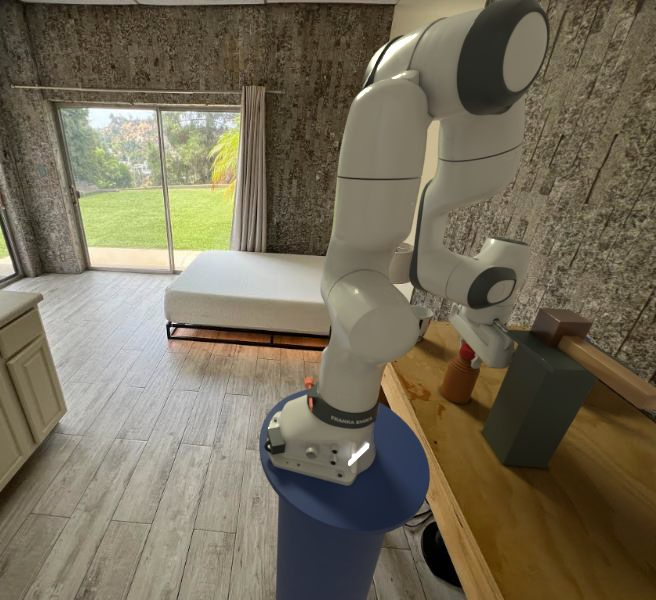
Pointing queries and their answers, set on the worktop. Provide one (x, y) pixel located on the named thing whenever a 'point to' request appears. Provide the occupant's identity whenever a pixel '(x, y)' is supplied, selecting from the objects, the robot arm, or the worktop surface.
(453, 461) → the worktop surface
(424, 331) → the cup
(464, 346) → the cap
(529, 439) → the stand
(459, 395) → the bottle
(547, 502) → the worktop surface
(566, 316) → the mallet
